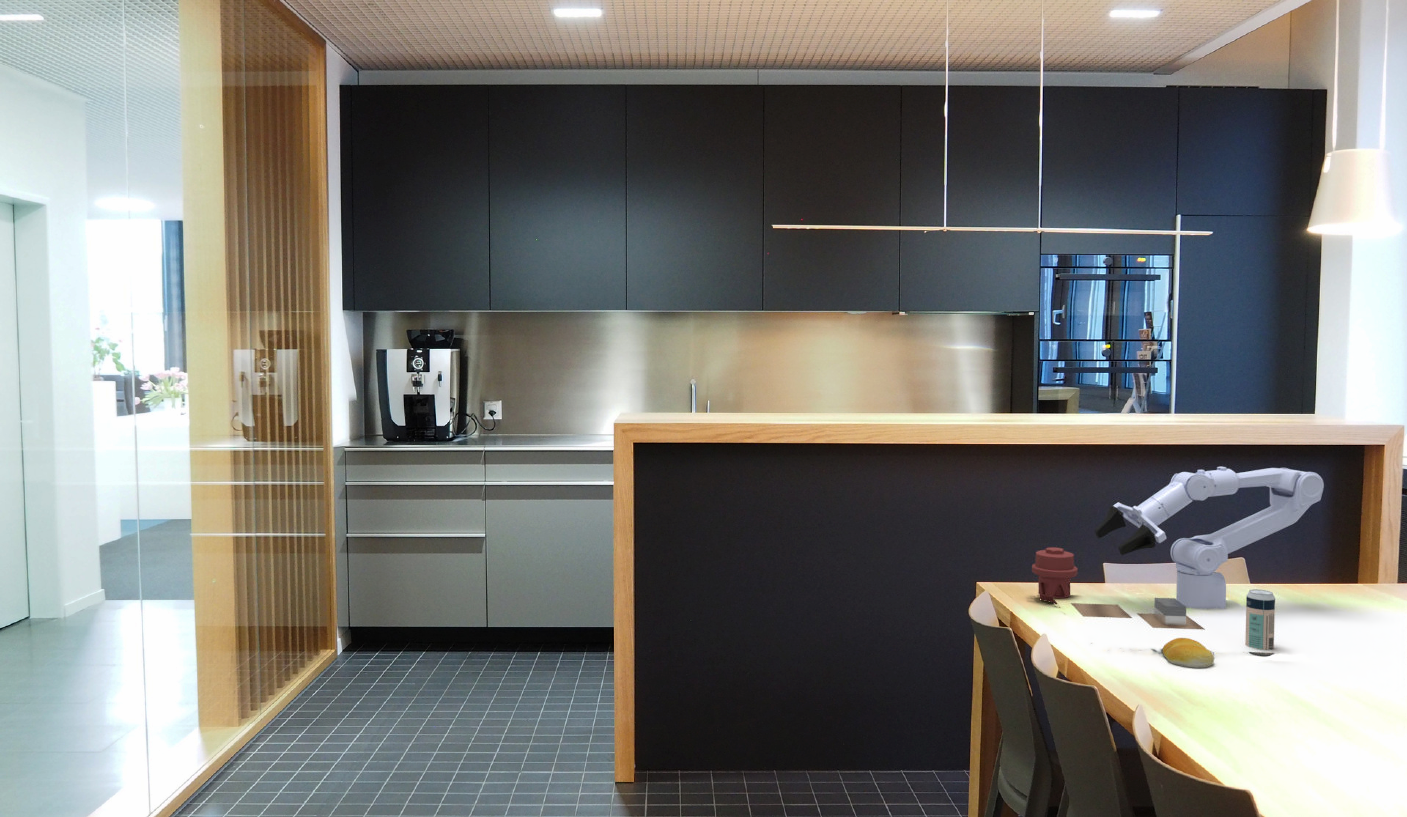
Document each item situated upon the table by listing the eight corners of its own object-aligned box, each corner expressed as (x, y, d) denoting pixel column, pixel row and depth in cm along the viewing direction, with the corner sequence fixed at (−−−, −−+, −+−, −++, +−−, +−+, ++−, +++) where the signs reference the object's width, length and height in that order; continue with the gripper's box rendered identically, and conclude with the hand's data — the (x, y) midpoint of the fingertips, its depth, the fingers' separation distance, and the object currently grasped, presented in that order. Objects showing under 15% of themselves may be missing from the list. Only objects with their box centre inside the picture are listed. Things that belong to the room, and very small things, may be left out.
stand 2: (1185, 621, 202) (1185, 614, 202) (1205, 636, 191) (1205, 629, 191) (1136, 620, 203) (1136, 613, 203) (1152, 634, 192) (1153, 627, 192)
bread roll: (1172, 668, 172) (1173, 646, 172) (1158, 653, 181) (1158, 633, 180) (1221, 670, 170) (1221, 648, 170) (1204, 655, 179) (1204, 634, 179)
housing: (1174, 616, 200) (1174, 598, 200) (1185, 625, 193) (1186, 606, 193) (1154, 616, 201) (1154, 597, 200) (1165, 625, 194) (1165, 606, 193)
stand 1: (1117, 611, 210) (1117, 604, 210) (1132, 624, 199) (1132, 617, 199) (1070, 609, 212) (1070, 603, 212) (1083, 623, 201) (1083, 616, 201)
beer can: (1270, 651, 181) (1272, 589, 180) (1276, 658, 176) (1278, 595, 176) (1242, 648, 182) (1243, 587, 182) (1247, 656, 178) (1249, 593, 177)
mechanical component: (1067, 595, 224) (1083, 606, 214) (1025, 595, 225) (1039, 606, 215) (1068, 544, 224) (1084, 553, 214) (1026, 544, 224) (1040, 553, 214)
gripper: (1130, 481, 213) (1081, 515, 212) (1177, 510, 200) (1126, 546, 199) (1138, 503, 216) (1090, 536, 215) (1185, 533, 203) (1135, 568, 202)
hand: (1108, 542), depth 207 cm, fingers open, 7 cm apart
